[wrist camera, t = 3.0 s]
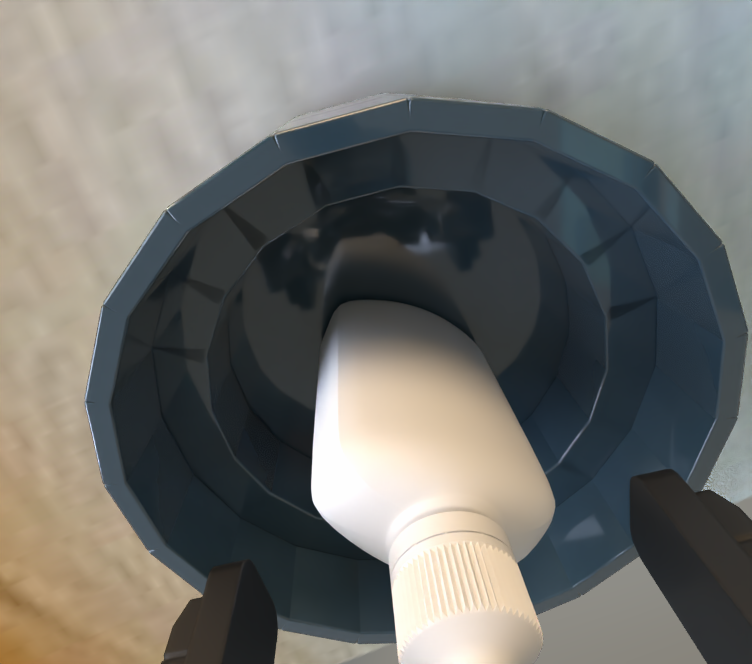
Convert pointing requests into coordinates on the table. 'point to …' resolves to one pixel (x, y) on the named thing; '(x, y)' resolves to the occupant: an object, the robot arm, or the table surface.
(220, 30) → the table surface
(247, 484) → the bowl
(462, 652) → the eye dropper bottle
